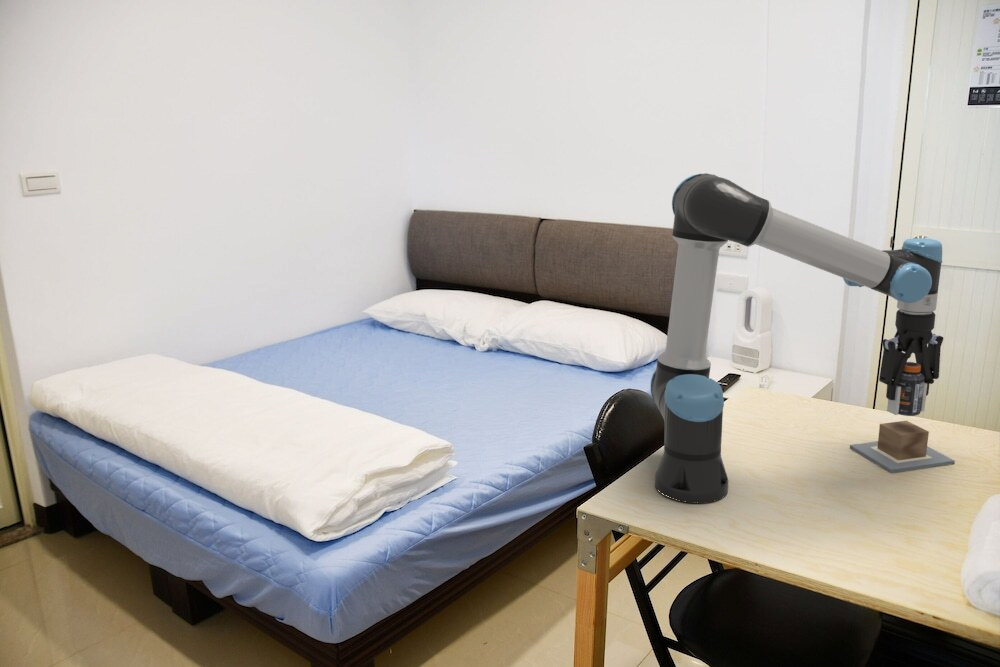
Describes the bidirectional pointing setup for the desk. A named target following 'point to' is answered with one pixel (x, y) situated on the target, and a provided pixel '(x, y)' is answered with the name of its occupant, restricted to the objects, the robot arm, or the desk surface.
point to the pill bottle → (911, 390)
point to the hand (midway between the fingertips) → (905, 410)
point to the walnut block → (903, 440)
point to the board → (895, 465)
